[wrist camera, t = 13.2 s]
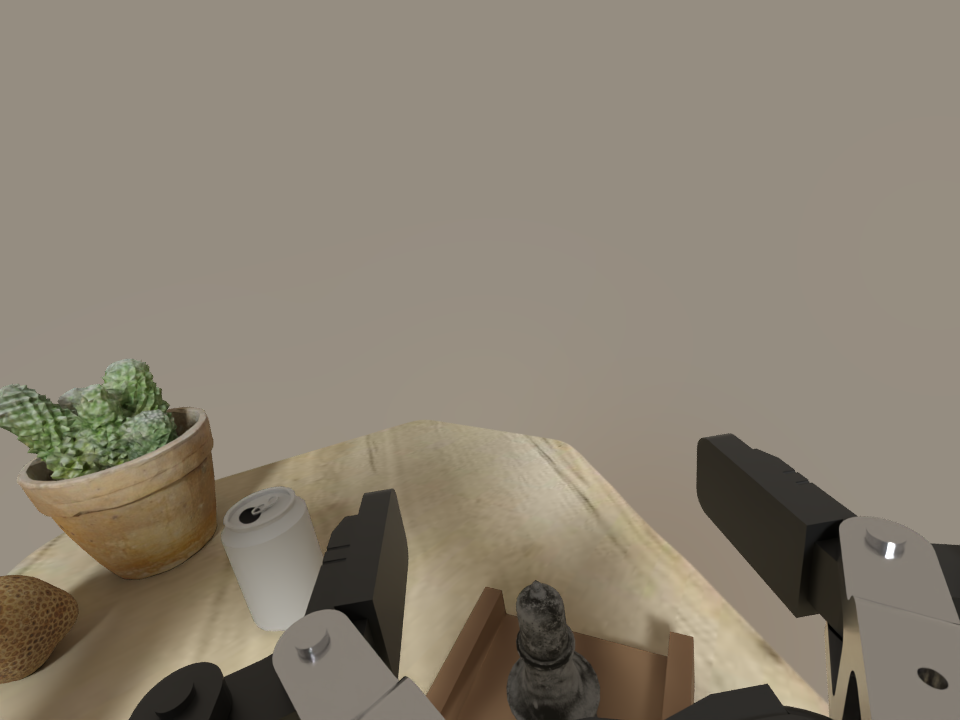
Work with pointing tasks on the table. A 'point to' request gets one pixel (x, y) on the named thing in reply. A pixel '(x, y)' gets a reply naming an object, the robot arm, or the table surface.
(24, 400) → the potted plant
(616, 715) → the brown piece
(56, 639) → the natural sponge
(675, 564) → the table surface
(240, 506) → the can
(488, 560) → the table surface
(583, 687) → the salt shaker
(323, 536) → the table surface
